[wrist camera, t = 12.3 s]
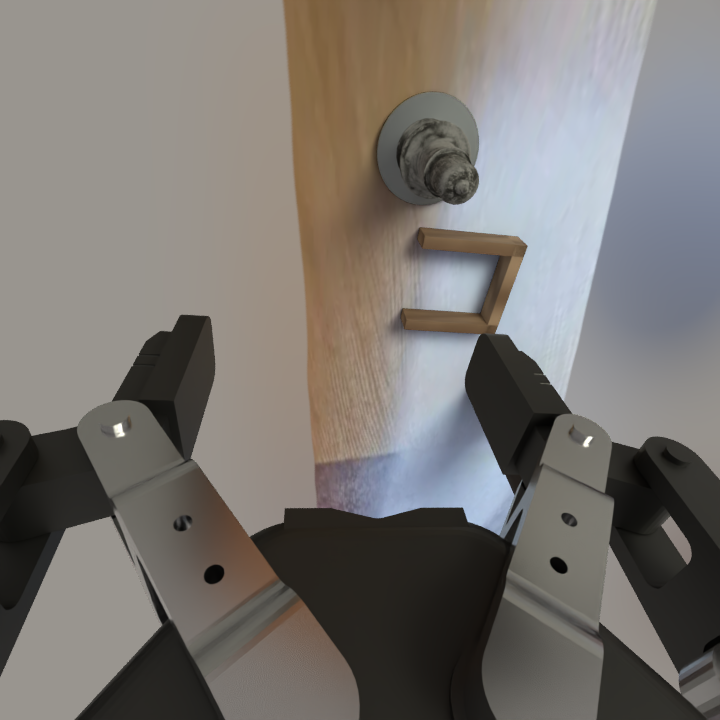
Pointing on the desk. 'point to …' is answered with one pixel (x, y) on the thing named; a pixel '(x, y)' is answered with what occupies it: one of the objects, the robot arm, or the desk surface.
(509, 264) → the wooden arch
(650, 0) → the desk surface
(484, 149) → the desk surface
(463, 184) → the stone finial
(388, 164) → the grey oval disc
